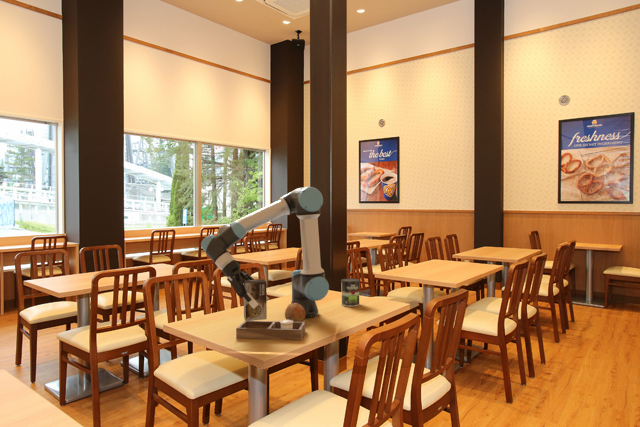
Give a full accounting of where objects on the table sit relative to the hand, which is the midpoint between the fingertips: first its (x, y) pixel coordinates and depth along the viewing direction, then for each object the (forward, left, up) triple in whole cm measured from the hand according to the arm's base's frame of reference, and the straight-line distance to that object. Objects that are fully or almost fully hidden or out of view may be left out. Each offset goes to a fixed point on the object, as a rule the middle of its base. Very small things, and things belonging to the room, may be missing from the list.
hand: (261, 303), depth 173 cm
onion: (-21, +11, -14) cm, 27 cm away
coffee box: (-1, -3, -7) cm, 7 cm away
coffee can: (-63, +35, -14) cm, 73 cm away
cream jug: (-1, +11, -13) cm, 17 cm away
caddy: (-1, +4, -14) cm, 15 cm away
